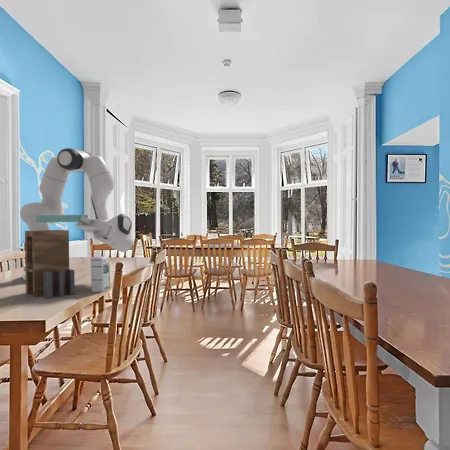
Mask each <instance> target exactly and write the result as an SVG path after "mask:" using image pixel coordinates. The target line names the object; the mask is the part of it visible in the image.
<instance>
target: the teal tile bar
mask: <svg viewBox="0 0 450 450" xmlns="http://www.w3.org/2000/svg"><path fill="white" fill-rule="evenodd" d="M80 216H84V217H85V218H88V219H89V217H88V216H89V215H88V214H65V215H36V222H37V223H42V222H57V223H77V222H84V221H81V220H80V219H79V218H80Z"/></svg>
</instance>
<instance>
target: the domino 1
mask: <svg viewBox="0 0 450 450" xmlns="http://www.w3.org/2000/svg"><path fill="white" fill-rule="evenodd" d="M42 297H44V298H45V299H52V298H53V294H52V272H48V271H44V272H43V295H42Z"/></svg>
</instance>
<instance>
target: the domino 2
mask: <svg viewBox="0 0 450 450" xmlns="http://www.w3.org/2000/svg"><path fill="white" fill-rule="evenodd" d="M54 283H55V294H54V296H56V297H57V296H58V297H64V296H65V292H64V271H60V270H54Z"/></svg>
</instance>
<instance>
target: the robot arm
mask: <svg viewBox="0 0 450 450" xmlns="http://www.w3.org/2000/svg"><path fill="white" fill-rule="evenodd" d="M72 172H74V173H84V174H86V176H87V179H88V182H89V183H90V188H91V194H90V195H91V196H90V200H91V205H92V208H93V211H94V215H95V219H93V218H92V219H90V218H89V217H88V218H85V217H84V216H80V218H79V219H80V220H81V221H84V222H76V227H77V228H79V229H81V230H83V231H85V232H88V233H92V235H93V238H94V239H95V240H98V242H101V243H103V244H105V245H108V246H109V247H110V248H112V249H113V250H116V251H118V252H120V253H121V252H122V253H126V252H128V251H129V250H131V248H132V247H133V246H134V242H135V241H134V239H133V237H132V227H133V225H132V224H133V222H132V220H131V219H130V217H129V216H128V215H126V214H123V213H120V214H117V215H115V216H114V217H112V218H109V214H108V211H107V207H106V202H107V199H108V197H109V195H110V194H111V193H112V192H113V190H114V187H115V181H114V178H113V175H112V172H111V171H110V169H109V166H108V165H107V163H106V161H105V160H104V158H103V157H102V156H100V155H97V154H94V155H93V154H91V153H89V152H87V151H83V150H81V149H76V148H71V147H69V148H68V147H67V148H62V149H61V150H60V151H58V154H57V156H53V157H51V159H50V160H49V161H48V163H47V165H46V167H45V170H44V172H43V175H42V179H41V182H40V184H39V187H38V189H39V192H40V193H41V194H42V195H41V196H42V197H41V198H42V199H41V202H29V203H26V204H24V205H23V206H22V207H21V208H20V211H19V214H20V219H21V220H22V221H23V222H24V223H25V224H26V226H27V228H28V231H38V230H51V228H50V225H53V224H57V223H58V222H42V223H37V222H36V215H66V213H65V209H64V208H63V203H62V202H63V194H64V190H65V188H66V184H67V180H68V177H69V176H70V174H71V173H72ZM23 272H26V266H24V267H23ZM20 278H22V279H23V280H24V281H26V273H25V274H21V275H20Z"/></svg>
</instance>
